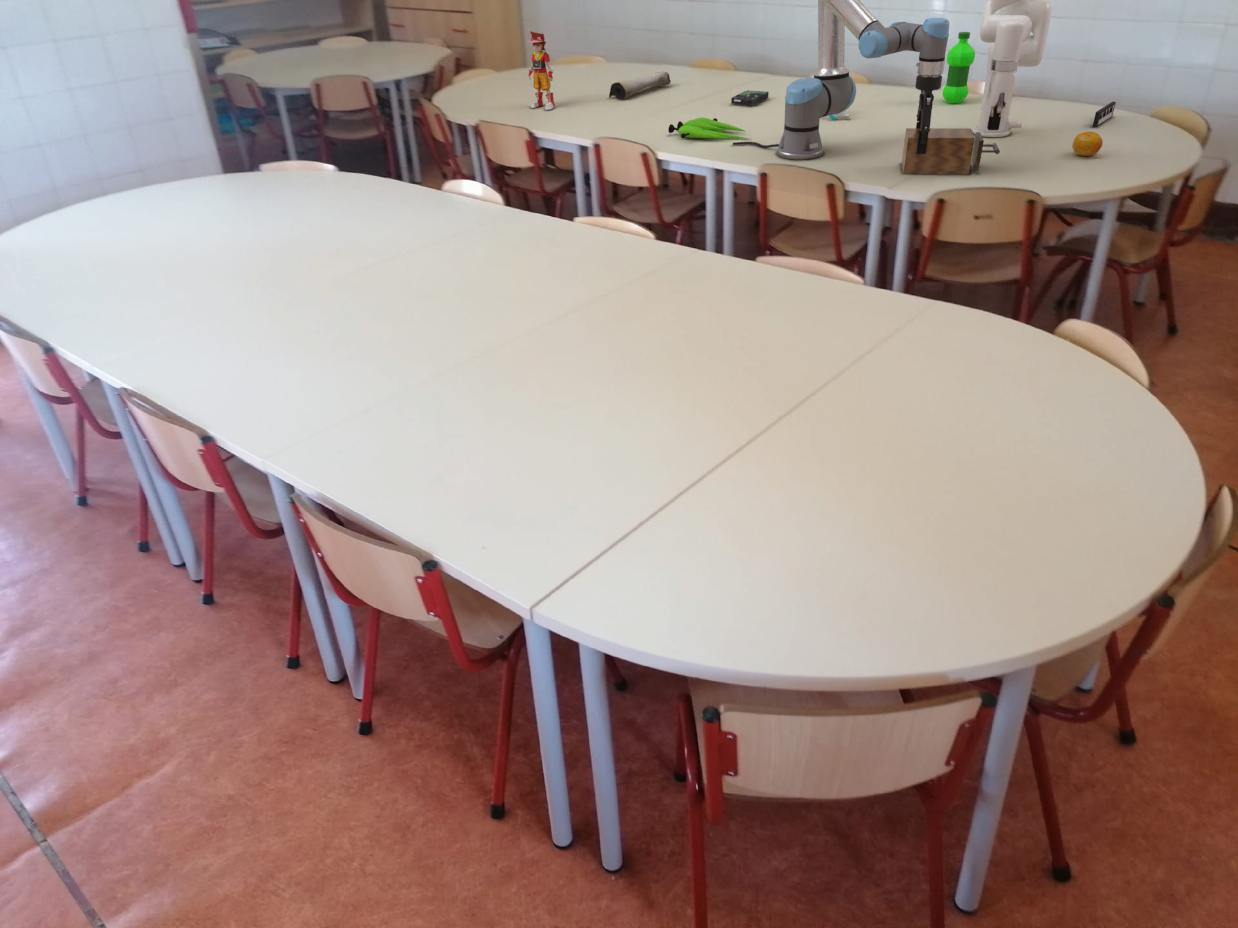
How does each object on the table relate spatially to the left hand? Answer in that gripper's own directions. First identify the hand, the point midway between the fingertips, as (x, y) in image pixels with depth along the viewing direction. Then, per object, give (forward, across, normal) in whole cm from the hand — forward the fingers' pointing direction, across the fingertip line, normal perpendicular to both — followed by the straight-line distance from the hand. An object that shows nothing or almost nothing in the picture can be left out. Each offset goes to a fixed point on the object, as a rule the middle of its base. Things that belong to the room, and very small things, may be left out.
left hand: (919, 148), depth 285 cm
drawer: (+5, 0, +12) cm, 13 cm away
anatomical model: (+6, -67, -27) cm, 72 cm away
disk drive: (+6, -90, -61) cm, 109 cm away
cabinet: (+6, 0, +5) cm, 8 cm away
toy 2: (+6, -39, -71) cm, 81 cm away
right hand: (-6, 0, +21) cm, 22 cm away
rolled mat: (+6, -109, -110) cm, 155 cm away
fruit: (+6, -16, +54) cm, 56 cm away
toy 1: (+6, -82, -148) cm, 170 cm away
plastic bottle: (+6, -87, +20) cm, 90 cm away
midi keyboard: (+6, -57, +68) cm, 89 cm away
